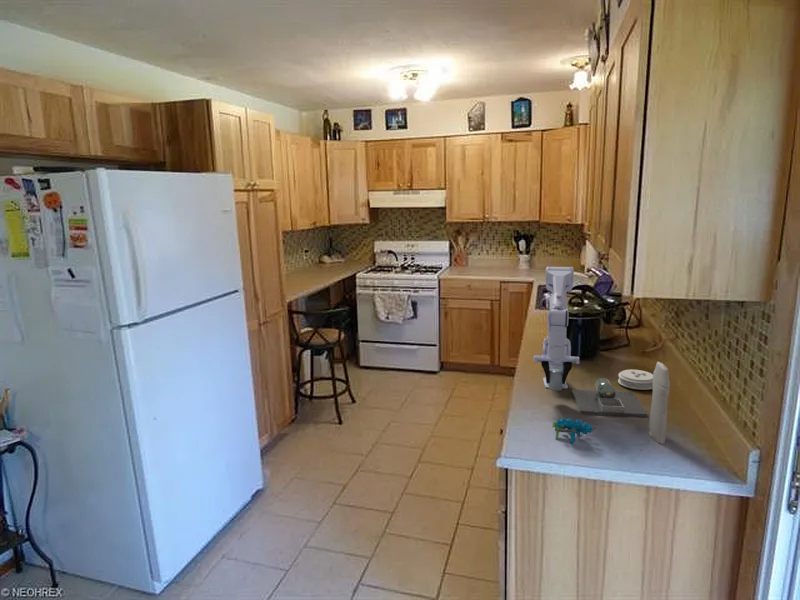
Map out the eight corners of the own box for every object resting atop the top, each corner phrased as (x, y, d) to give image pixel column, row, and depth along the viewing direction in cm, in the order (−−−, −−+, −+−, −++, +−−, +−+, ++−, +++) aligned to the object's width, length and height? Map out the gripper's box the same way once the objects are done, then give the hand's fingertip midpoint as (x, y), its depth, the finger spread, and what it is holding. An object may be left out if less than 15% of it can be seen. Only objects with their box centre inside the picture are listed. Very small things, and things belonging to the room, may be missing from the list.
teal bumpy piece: (596, 431, 145) (588, 417, 138) (594, 451, 142) (586, 437, 135) (558, 427, 151) (548, 414, 145) (555, 446, 148) (545, 433, 142)
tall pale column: (670, 445, 139) (677, 370, 135) (655, 444, 140) (661, 370, 135) (658, 428, 149) (664, 358, 145) (643, 427, 150) (648, 357, 146)
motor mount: (572, 392, 178) (572, 376, 177) (632, 395, 174) (633, 378, 173) (580, 413, 161) (581, 396, 159) (647, 417, 157) (648, 399, 156)
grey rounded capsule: (547, 385, 172) (548, 368, 171) (561, 385, 171) (562, 369, 170) (549, 390, 168) (549, 373, 167) (563, 390, 167) (563, 373, 166)
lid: (621, 377, 192) (622, 364, 191) (658, 383, 185) (659, 370, 184) (614, 387, 182) (615, 374, 181) (652, 394, 175) (654, 381, 174)
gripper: (535, 347, 164) (534, 386, 167) (581, 348, 161) (579, 388, 164) (533, 341, 171) (532, 378, 174) (578, 342, 168) (576, 380, 171)
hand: (555, 382), depth 169 cm, fingers closed on grey rounded capsule, 4 cm apart
